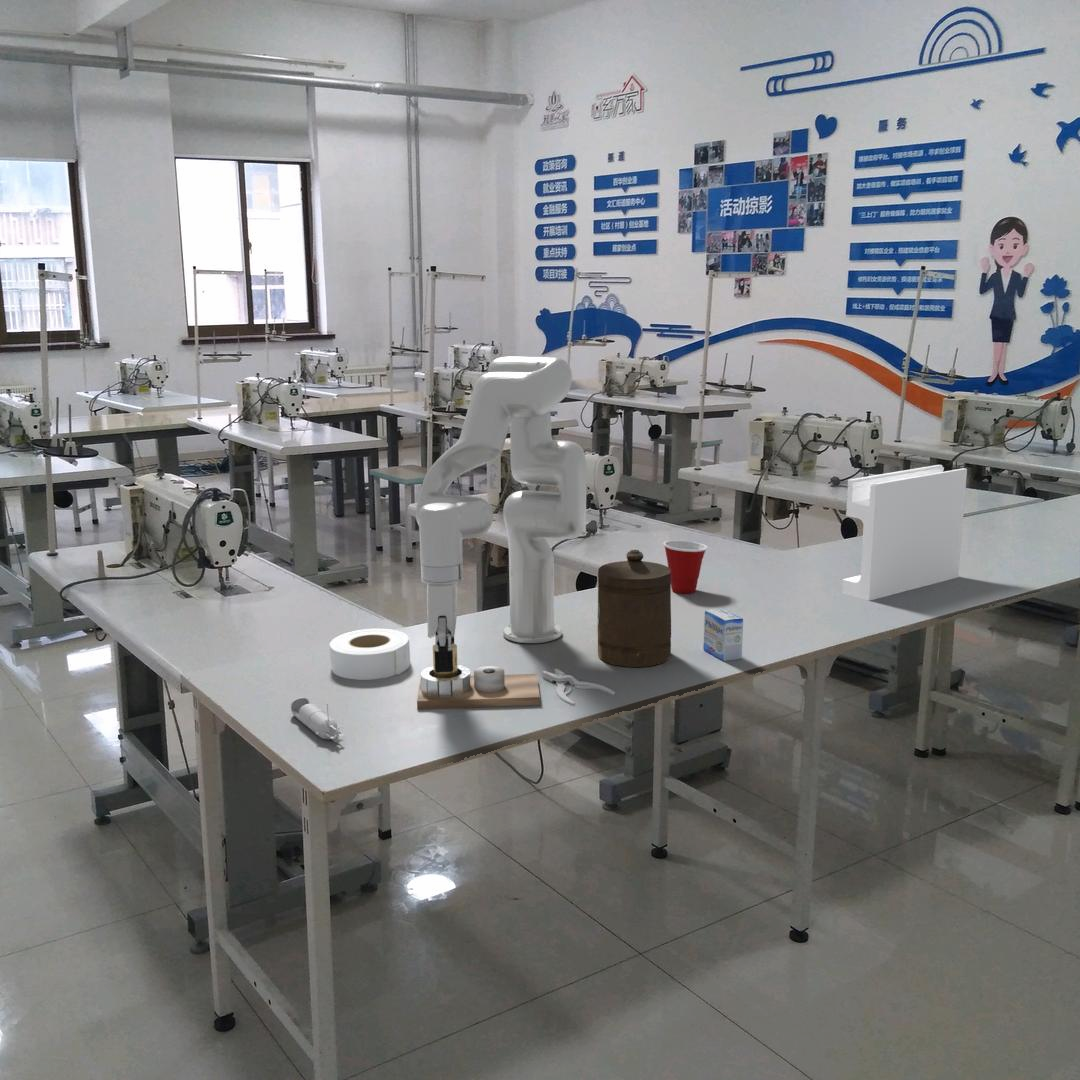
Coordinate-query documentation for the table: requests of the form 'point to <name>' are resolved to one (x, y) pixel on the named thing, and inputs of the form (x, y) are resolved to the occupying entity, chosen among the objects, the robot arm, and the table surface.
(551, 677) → the pliers
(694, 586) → the plastic cup
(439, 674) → the brass peg
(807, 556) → the table surface
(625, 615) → the wooden container
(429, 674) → the ring
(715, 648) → the medicine box
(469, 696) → the fitting board
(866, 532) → the block
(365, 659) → the roll of tape
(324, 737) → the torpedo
